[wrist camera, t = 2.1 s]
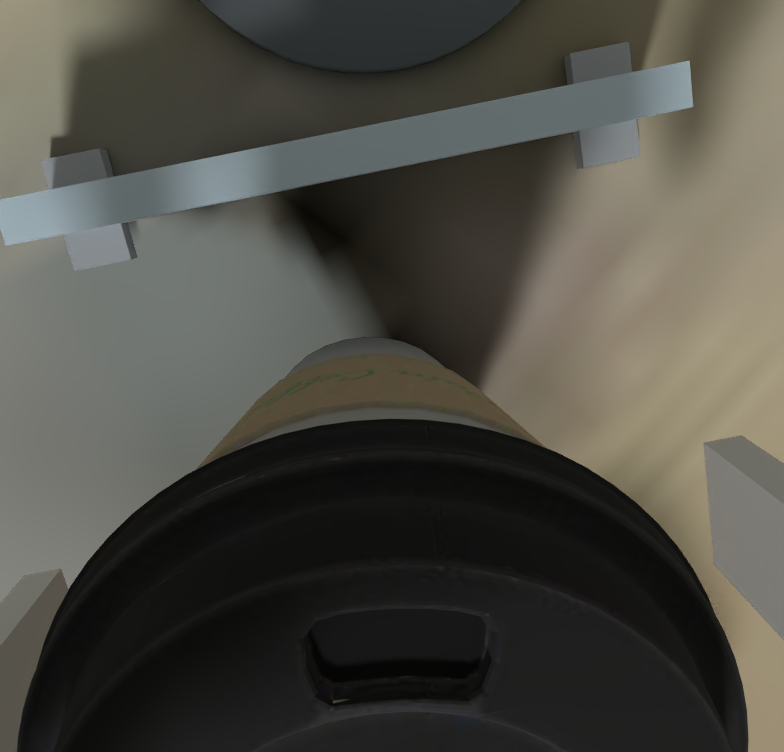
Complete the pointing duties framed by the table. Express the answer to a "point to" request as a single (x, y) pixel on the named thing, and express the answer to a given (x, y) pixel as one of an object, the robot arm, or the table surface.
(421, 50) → the coaster
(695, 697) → the coffee cup
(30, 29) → the table surface
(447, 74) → the table surface
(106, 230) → the grey bar handle
